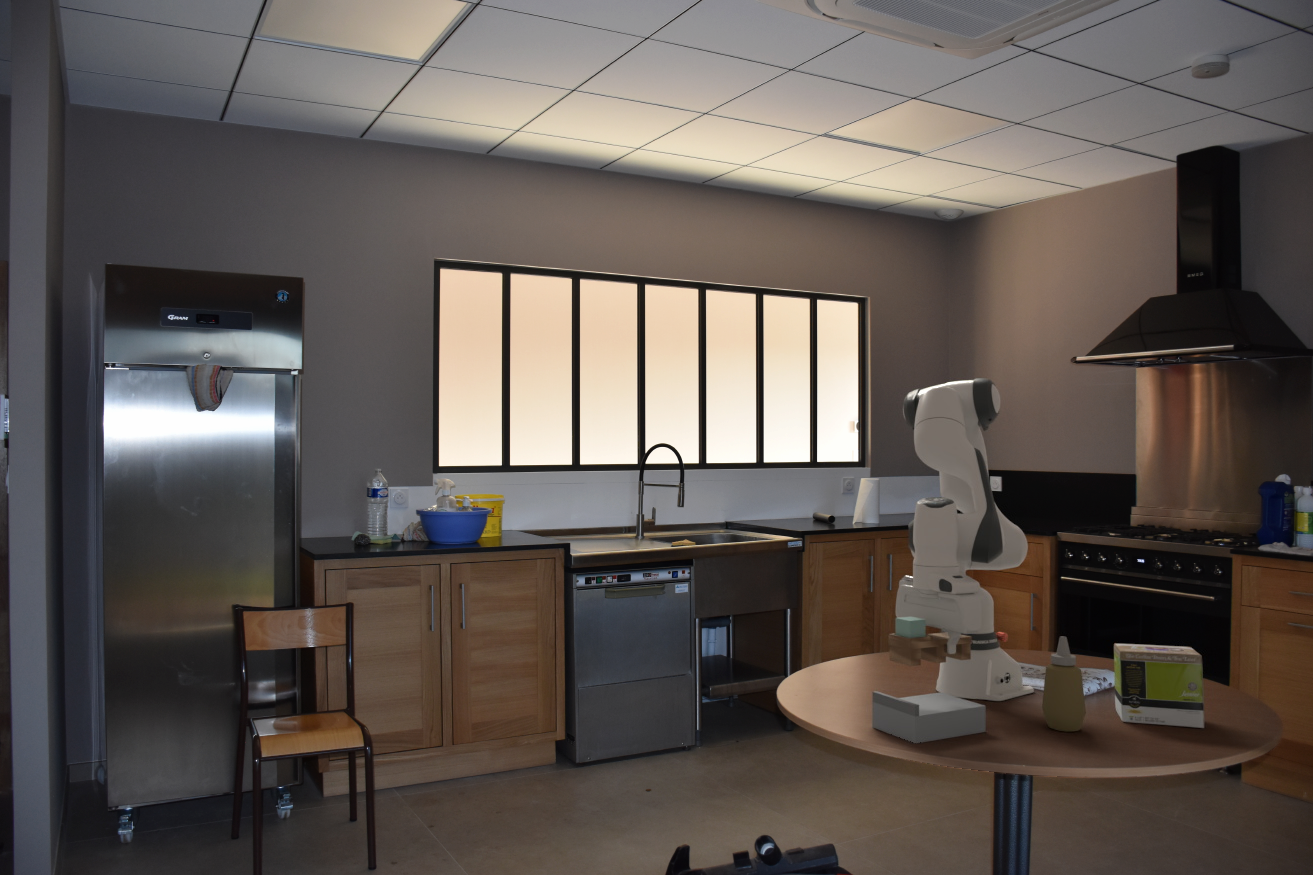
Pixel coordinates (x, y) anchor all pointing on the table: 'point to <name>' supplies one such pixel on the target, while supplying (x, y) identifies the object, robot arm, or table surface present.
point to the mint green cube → (910, 627)
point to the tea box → (1159, 685)
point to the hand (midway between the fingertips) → (936, 649)
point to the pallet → (926, 648)
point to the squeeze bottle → (1063, 691)
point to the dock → (927, 716)
